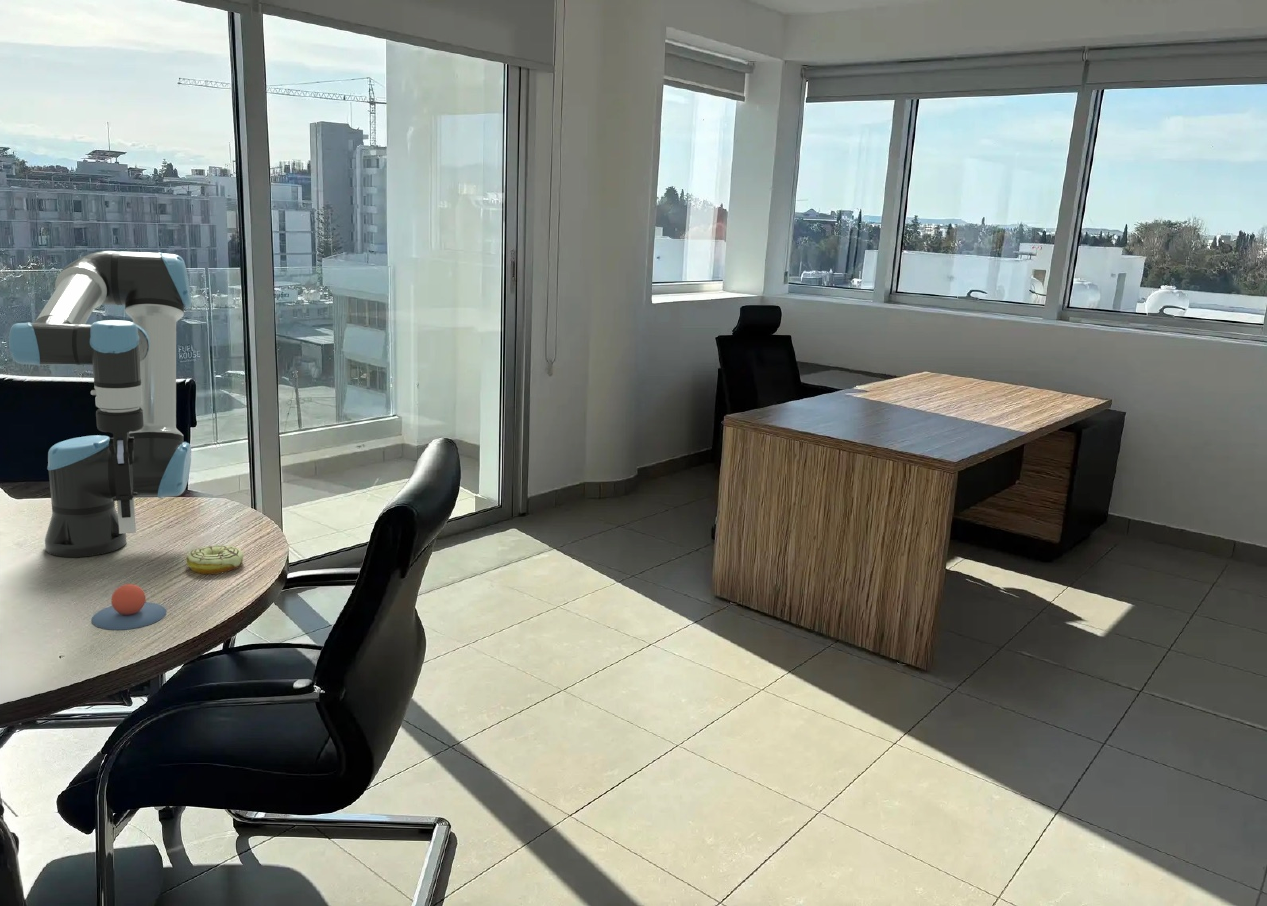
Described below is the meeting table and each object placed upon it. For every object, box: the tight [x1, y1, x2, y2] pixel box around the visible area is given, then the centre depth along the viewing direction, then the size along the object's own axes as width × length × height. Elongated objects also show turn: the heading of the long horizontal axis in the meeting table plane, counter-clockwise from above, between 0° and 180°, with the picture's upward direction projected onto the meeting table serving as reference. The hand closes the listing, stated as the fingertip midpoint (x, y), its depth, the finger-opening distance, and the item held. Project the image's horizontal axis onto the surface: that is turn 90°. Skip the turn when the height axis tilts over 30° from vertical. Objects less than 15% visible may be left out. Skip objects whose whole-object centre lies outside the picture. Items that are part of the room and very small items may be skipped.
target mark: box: [91, 601, 167, 631], centre depth 175 cm, size 12×12×1 cm
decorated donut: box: [185, 544, 244, 575], centre depth 200 cm, size 10×11×4 cm
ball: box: [111, 583, 147, 615], centre depth 175 cm, size 6×6×6 cm
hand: (127, 531), depth 180 cm, fingers closed
